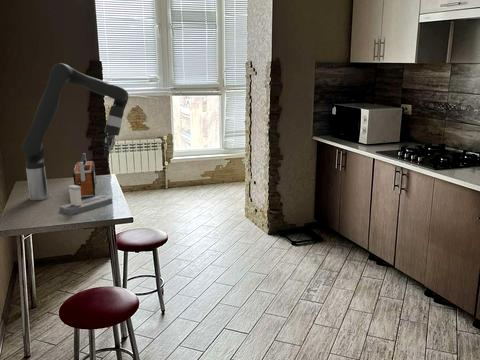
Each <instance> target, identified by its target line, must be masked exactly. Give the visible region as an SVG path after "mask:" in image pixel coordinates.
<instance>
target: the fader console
mask: <svg viewBox="0 0 480 360" xmlns="http://www.w3.org/2000/svg"><path fill="white" fill-rule="evenodd" d="M81 200H82V205H79V206H75V205H71V202H70V203H67V204H63V205H59V212H60V213H64V214H66V215H69V214H70V216H73V215H76V213H77V214H79V213H82V212H83V213H84V212H86V211H90V210H94V209H96V208H100V207H103V206H106V205H110V204H113V198H112V197H109V196H104V195H101V194H100V195H97V196H96V195H95V196H93V197H89V198H86V199H85V198H84V199H81Z"/></svg>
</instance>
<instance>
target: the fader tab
mask: <svg viewBox="0 0 480 360" xmlns="http://www.w3.org/2000/svg"><path fill="white" fill-rule="evenodd" d="M80 189H81V186H77V185H74V184H70V185H68V190H69V192H68V193H69V199H70V200H69V201H70V203H71V205H75V206H79V205H82V200H83V199H82V197H81V191H80Z"/></svg>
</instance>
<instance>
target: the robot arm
mask: <svg viewBox="0 0 480 360" xmlns="http://www.w3.org/2000/svg"><path fill="white" fill-rule="evenodd" d="M65 83H69V84H74V85H77V86H81V87H83V88H85V89H87V90H88V91H91V92H93V93H96V94H99V95H101V96H104V97H108V98H111V99H113V104H112V105H111V106H110V109H109V113H108V116H107V118H106V119H107V120H106V124H105V127H104V131H103V132H104V134H106V136H105V138H103V149H104V153H103V158H105V159H106V158H107V159H108V158H109V156H110V152H111V151H112V150H113V148H114V146H115V145H116V141H115V140H116V139H115V137H118V136H119V135H120V132H121V127H122V122H123V117H124V113H125V109H126V106H127V104H128V101H129V93H128V91H127V90H126V89H125V88H123V87H121V86H118V85H114V84H113V83H112V84H111V83H109V82H107V81H104V80H102V79H100V78H99V79H98V78H96V77H93V76H89V75H87V74H84V73H81V72H80V71H78V70H76V69H75V68H73V67H71V66H69V65H68V64H67V63H66V64H65V63H63V62H58V63H56V64H54V65H53V66H52V68H51V70H50V73H49V77H48V81H47V84H46V87H45V89H44V91H43V94H42V96H41V98H40V101H39V102H38V103H39V104H38V106H37V108H36V110H35V113H34V117H33V119H32V122H31V127H30V130H29V131H28V133H27V135H26V137H25V138H24V140H23V142H22V144H21V149H22V152H23V154H24V155H25V172H26V178H27V186H28V195H29V200H30V201H43V200H46V199H48V198H49V191H48V190H49V189H48V182H47V174H46V165H45V152H44V144H43V141H44V137H45V135H46V133H47V131H48V129H49V128H50V126H51V124H52V122H53V121H54V119H55V117H56V114H57V112H58V109H59V106H60V95H61V91H62V89H63V86H64V85H65Z"/></svg>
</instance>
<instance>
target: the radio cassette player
mask: <svg viewBox="0 0 480 360" xmlns="http://www.w3.org/2000/svg"><path fill="white" fill-rule="evenodd" d="M72 175H73V176H72V177H73V185H77V186H81V189H80V191H81V198H87V197H89V198H92V197H96V185H97V175H96V166H95V161H93V160H90V161H89V160H88V161H87V156H86V153H85V152H84V153H82V154H81V158H80V160H79V161H78V162H76V163H75V166H74V169H73V172H72Z"/></svg>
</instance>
